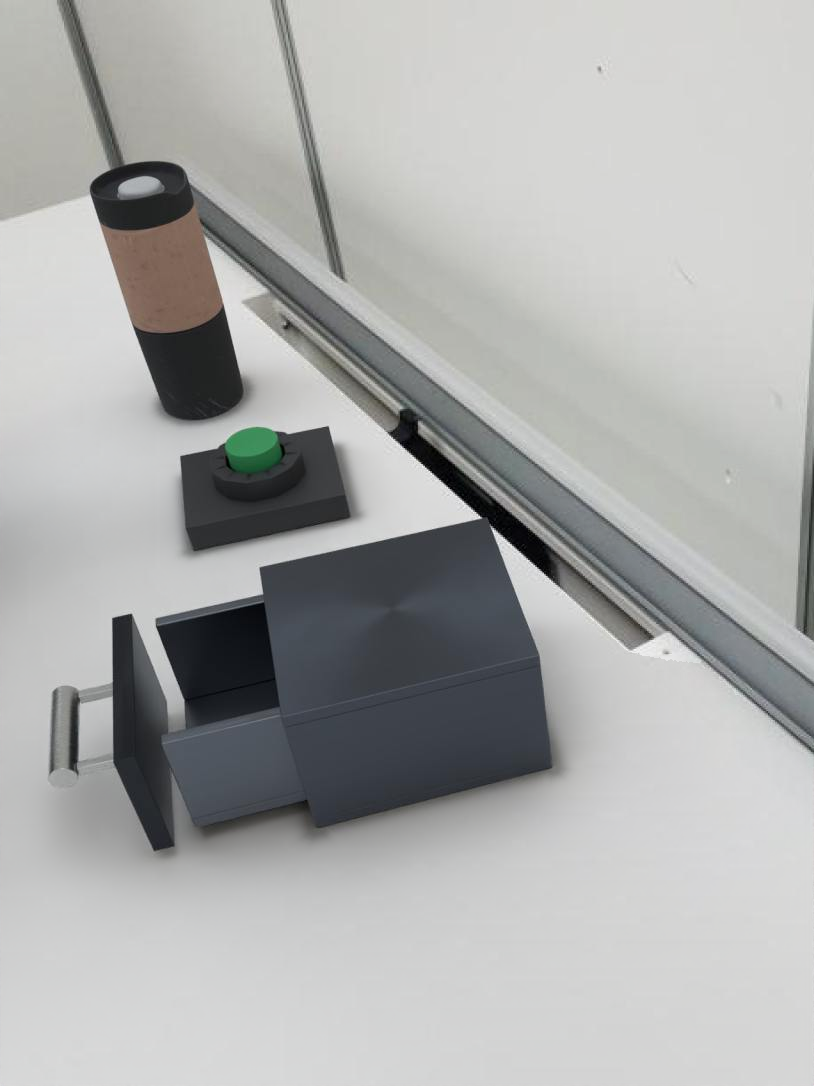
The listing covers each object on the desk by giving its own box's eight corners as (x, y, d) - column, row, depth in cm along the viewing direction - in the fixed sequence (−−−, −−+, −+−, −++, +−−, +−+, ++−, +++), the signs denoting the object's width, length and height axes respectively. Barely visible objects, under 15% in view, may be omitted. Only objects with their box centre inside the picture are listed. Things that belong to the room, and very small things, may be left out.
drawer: (75, 872, 73) (28, 783, 68) (78, 722, 82) (37, 634, 77) (383, 793, 77) (360, 702, 71) (353, 657, 86) (331, 568, 80)
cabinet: (316, 828, 76) (281, 717, 70) (291, 676, 86) (258, 566, 79) (552, 767, 79) (539, 655, 72) (502, 626, 88) (487, 516, 82)
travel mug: (151, 390, 114) (78, 174, 101) (234, 366, 117) (174, 152, 104) (170, 431, 109) (97, 209, 96) (257, 405, 112) (197, 185, 98)
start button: (232, 479, 97) (226, 460, 96) (228, 451, 100) (223, 432, 99) (284, 468, 98) (279, 449, 97) (279, 440, 101) (274, 422, 100)
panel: (193, 551, 97) (179, 509, 94) (187, 477, 104) (173, 437, 101) (350, 517, 99) (341, 475, 96) (333, 447, 106) (324, 406, 103)
